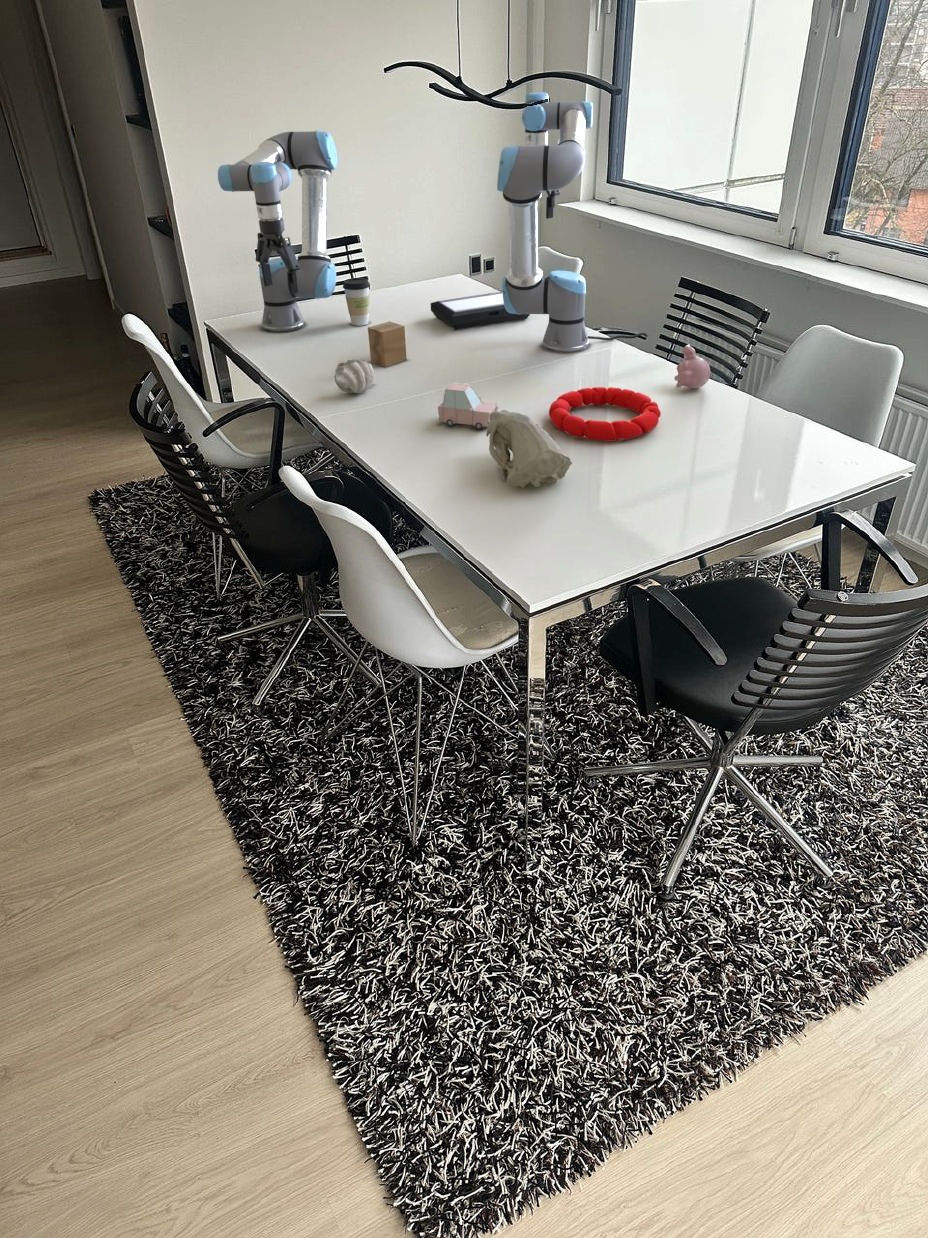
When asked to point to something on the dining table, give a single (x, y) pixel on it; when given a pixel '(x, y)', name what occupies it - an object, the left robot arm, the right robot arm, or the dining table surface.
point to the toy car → (465, 406)
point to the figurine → (692, 370)
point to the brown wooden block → (387, 344)
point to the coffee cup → (357, 300)
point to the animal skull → (525, 450)
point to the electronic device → (474, 311)
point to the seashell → (354, 376)
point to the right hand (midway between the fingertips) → (535, 215)
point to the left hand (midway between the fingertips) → (281, 289)
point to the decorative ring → (604, 428)
